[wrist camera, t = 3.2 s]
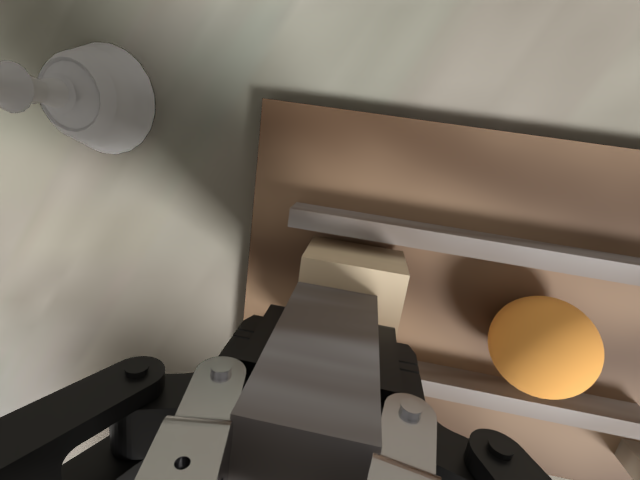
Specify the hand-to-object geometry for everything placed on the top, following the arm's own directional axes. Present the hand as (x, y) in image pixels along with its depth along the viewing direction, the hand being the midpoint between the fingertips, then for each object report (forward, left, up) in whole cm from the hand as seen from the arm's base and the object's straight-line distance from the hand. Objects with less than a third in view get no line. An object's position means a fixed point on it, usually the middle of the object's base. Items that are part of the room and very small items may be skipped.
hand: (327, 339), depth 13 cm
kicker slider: (0, 0, -4) cm, 4 cm away
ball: (0, +8, -3) cm, 9 cm away
